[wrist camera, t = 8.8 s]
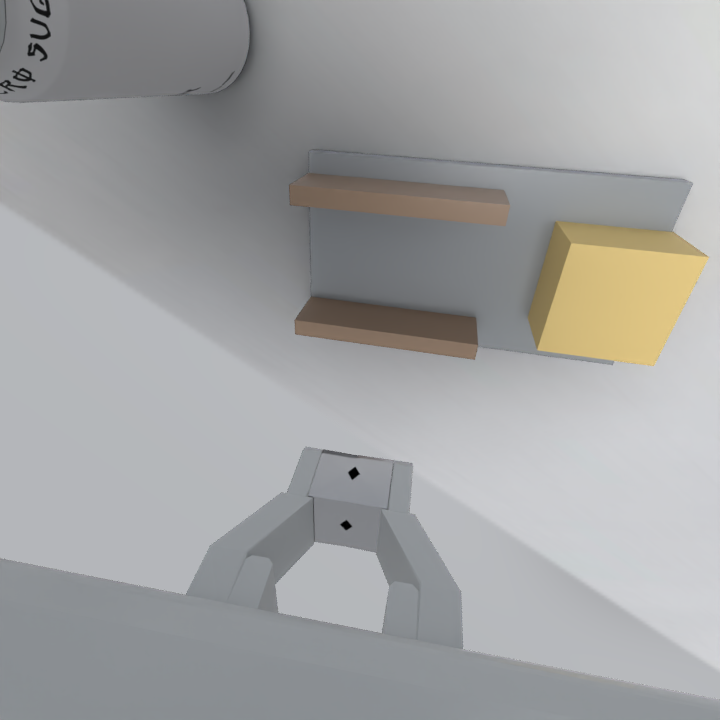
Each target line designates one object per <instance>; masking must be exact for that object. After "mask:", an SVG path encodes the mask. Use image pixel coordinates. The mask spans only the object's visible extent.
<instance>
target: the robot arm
mask: <svg viewBox="0 0 720 720" xmlns="http://www.w3.org/2000/svg"><path fill="white" fill-rule="evenodd" d="M393 462H394V464H393ZM392 471H393V472H392ZM412 473H413V464H412V463H409V462H402V461H395V460H389V459H381V458H374V457H367V456H360V455H358V456H357V455H351V454H346V453H341V452H335V451H329V450H322V449H317V448H311V447H305V448H304V450H303V451H302V454H301V457H300V459H299V462H298V465H297V467H296V470H295V473H294V475H293V478H292V481H291V484H290V486H289V488H288V491H287V493H283V492H282V493H280V494H279V495H277V496H276V497H275V498H273V499H272V500H271V501H270V502H268V503H267V504H265V505H264V506H263V507H261V508H260V509H259V510H257V511H256V512H255V513H253V514H252V515H251V516H249V517H248V518H246V519H245V520H244V521H243V522H241V523H240V524H239V525H237V526H236V527H235V528H233V529H232V530H230V531H229V532H228V533H226V534H225V535H224V536H222V537H221V538H220V539H218V540H217V541H216V542H214V543H213V544H212V545H210V547H209V549H208V551H207V553H206V555H205V557H204V559H203V561H202V563H201V565H200V567H199V569H198V571H197V573H196V575H195V577H194V579H193V581H192V583H191V585H190V587H189V589H188V591H187V593H186V595H184V594H179V593H174V592H169V591H164V590H159V589H154V588H148V587H143V586H138V585H133V584H128V583H123V582H118V581H113V580H108V579H103V578H97V577H93V576H87V575H82V574H77V573H71V572H67V571H62V570H57V569H52V568H47V567H41V566H36V565H32V564H27V563H22V562H16V561H11V560H6V559H1V558H0V720H720V700H719V699H713V698H709V697H704V696H699V695H694V694H689V693H684V692H679V691H673V690H668V689H663V688H658V687H653V686H648V685H643V684H638V683H633V682H627V681H623V680H617V679H612V678H607V677H602V676H597V675H591V674H587V673H581V672H577V671H572V670H566V669H561V668H556V667H551V666H546V665H541V664H535V663H531V662H525V661H521V660H515V659H510V658H505V657H500V656H495V655H490V654H485V653H480V652H475V651H470V650H465V649H463V634H462V602H461V591H460V589H459V588H458V586H457V584H456V583H455V581H454V579H453V578H452V576H451V574H450V573H449V571H448V569H447V567H446V566H445V564H444V562H443V561H442V559H441V557H440V556H439V554H438V552H437V551H436V549H435V547H434V546H433V544H432V542H431V541H430V539H429V538H428V536H427V534H426V532H425V531H424V529H423V527H422V526H421V524H420V522H419V521H418V519H417V517H416V516H415V514H410V513H409V511H410V498H411V485H412ZM314 542H320V543H327V544H333V545H340V546H346V547H351V548H356V549H361V550H366V551H371V552H376V555H377V557H378V559H379V562H380V564H381V567H382V569H383V572H384V575H385V577H386V579H387V582H388V584H389V591H388V597H387V604H386V610H385V616H384V623H383V629H382V633H378V632H373V631H368V630H363V629H358V628H353V627H348V626H343V625H338V624H332V623H327V622H321V621H317V620H312V619H307V618H302V617H297V616H291V615H286V614H280V613H278V606H277V597H276V589H275V584H276V583H277V582H278V581H279V580H280V579H281V578H282V576H284V575H285V574H286V572H287V571H288V570H289V569H290V568H291V567H292V566H293V565H294V564H295V563H296V562H297V561H298V560H299V559H300V558H301V557H302V556H303V555H304V554H305V553H306V551H307V550H308V549H309V548H310V547H311V546H312V545H313V544H314Z"/></svg>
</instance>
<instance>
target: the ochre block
mask: <svg viewBox="0 0 720 720" xmlns="http://www.w3.org/2000/svg"><path fill="white" fill-rule="evenodd" d="M708 258H709V257H708V256H707V255H705V254H704V253H702V252H701V251H699V250H698V249H697V248H695V247H694V246H692V245H691V244H689V243H688V242H687V241H685V240H684V239H682V238H681V237H680V236H678V235H677V234H675V233H674V232H668V231H657V230H647V229H636V228H626V227H615V226H605V225H594V224H584V223H573V222H563V221H556V222H555V225H554V229H553V232H552V236H551V239H550V243H549V246H548V249H547V253H546V256H545V260H544V263H543V267H542V270H541V273H540V277H539V280H538V284H537V287H536V291H535V294H534V297H533V301H532V304H531V308H530V311H529V315H528V321H529V324H530V328H531V331H532V335H533V338H534V341H535V345H536V348H537V350H539V351H546V352H553V353H561V354H568V355H576V356H583V357H590V358H598V359H605V360H613V361H620V362H627V363H635V364H642V365H650V366H654V365H655V363H656V361H657V359H658V357H659V355H660V353H661V351H662V349H663V347H664V345H665V343H666V341H667V339H668V337H669V335H670V333H671V331H672V329H673V327H674V325H675V323H676V321H677V319H678V317H679V315H680V313H681V311H682V309H683V308H684V306H685V304H686V302H687V300H688V298H689V296H690V294H691V292H692V290H693V288H694V286H695V284H696V282H697V280H698V278H699V276H700V274H701V272H702V270H703V268H704V266H705V264H706V262H707V260H708Z"/></svg>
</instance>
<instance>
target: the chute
mask: <svg viewBox="0 0 720 720" xmlns="http://www.w3.org/2000/svg"><path fill="white" fill-rule="evenodd" d="M692 185H693V183H691V182H689V181H687V180H684V179H671V178H659V177H646V176H634V175H622V174H609V173H597V172H584V171H572V170H559V169H547V168H535V167H522V166H510V165H497V164H485V163H472V162H460V161H448V160H435V159H423V158H410V157H398V156H385V155H373V154H361V153H348V152H336V151H323V150H312V151H310V152H309V173H308V174H306V175H305V176H303V177H301V178H300V179H298V180H296V181H295V182H293V183H291V184H290V185H289V193H290V205H294V206H305V207H309V209H310V268H311V297H310V299H309V300H308V302H307V303H306V304H305V306H304V307H303V309H302V310H301V312H300V313H299V315H298V316H297V317H296V319H295V334H297V335H304V336H311V337H318V338H325V339H332V340H339V341H346V342H354V343H361V344H368V345H375V346H382V347H389V348H396V349H403V350H410V351H418V352H425V353H432V354H439V355H446V356H453V357H460V358H467V359H474V360H475V357H476V352H477V348H478V347H485V348H492V349H499V350H506V351H514V352H521V353H528V354H536V355H543V356H550V357H558V358H565V359H572V360H580V361H587V362H594V363H602V364H609V365H613V363H614V361H613V360H605V359H598V358H590V357H583V356H576V355H568V354H561V353H553V352H546V351H539V350H537V348H536V345H535V341H534V338H533V335H532V331H531V328H530V324H529V321H528V315H529V311H530V308H531V304H532V301H533V297H534V294H535V291H536V287H537V284H538V280H539V277H540V273H541V270H542V267H543V263H544V260H545V256H546V253H547V249H548V246H549V243H550V239H551V236H552V232H553V229H554V225H555V222H556V221H563V222H573V223H584V224H594V225H605V226H615V227H626V228H636V229H647V230H657V231H668V232H672V230H673V228H674V225H675V223H676V221H677V219H678V216H679V214H680V212H681V210H682V207H683V205H684V203H685V201H686V198H687V196H688V194H689V191H690V189H691V187H692Z"/></svg>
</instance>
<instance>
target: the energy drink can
mask: <svg viewBox="0 0 720 720" xmlns="http://www.w3.org/2000/svg"><path fill="white" fill-rule="evenodd" d="M249 38H250V30H249V19H248V14H247V10H246V6H245V2H244V0H0V100H1V101H4V102H19V103H25V102H46V101H67V100H88V99H109V98H130V97H151V96H172V95H193V94H210V93H215V92H219V91H221V90H223V89H225V88H226V87H228V86H229V85H230V84H231V83H232V82H233V81H235V79H236V78H237V77H238V75H239V74H240V72H241V71H242V68H243V66H244V64H245V61H246V58H247V54H248V49H249Z"/></svg>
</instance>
